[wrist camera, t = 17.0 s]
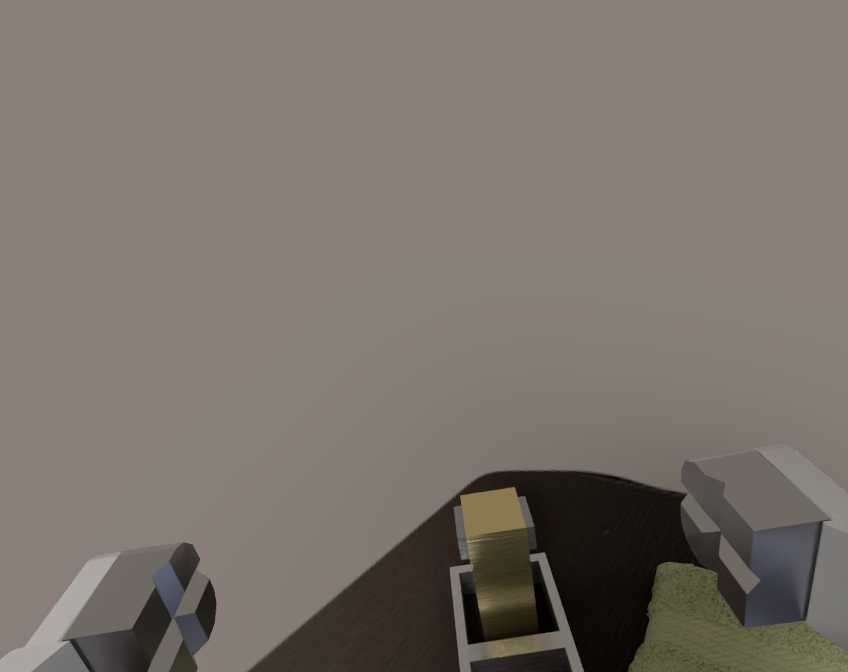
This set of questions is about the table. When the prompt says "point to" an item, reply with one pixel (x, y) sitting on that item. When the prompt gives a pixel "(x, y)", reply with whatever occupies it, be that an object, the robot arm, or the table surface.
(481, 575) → the pale yellow rectangular block
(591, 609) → the table surface
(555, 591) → the rack frame
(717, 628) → the washcloth
